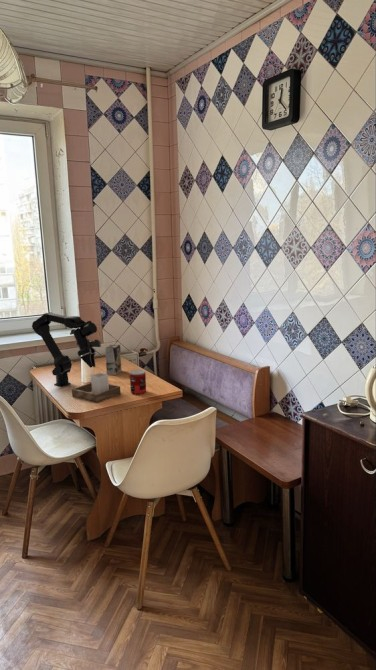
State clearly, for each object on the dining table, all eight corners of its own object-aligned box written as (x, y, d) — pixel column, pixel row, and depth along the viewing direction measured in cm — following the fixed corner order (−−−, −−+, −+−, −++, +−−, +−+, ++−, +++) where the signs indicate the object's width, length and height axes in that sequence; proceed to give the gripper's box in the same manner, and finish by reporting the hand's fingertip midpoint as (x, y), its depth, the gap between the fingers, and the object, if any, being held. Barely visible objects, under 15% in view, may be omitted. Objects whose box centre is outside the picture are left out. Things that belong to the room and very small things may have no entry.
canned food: (130, 390, 247) (129, 370, 245) (146, 389, 248) (145, 369, 245) (130, 395, 240) (129, 374, 237) (146, 394, 240) (145, 373, 238)
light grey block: (92, 394, 240) (90, 375, 238) (101, 391, 244) (100, 372, 242) (99, 396, 236) (98, 377, 234) (109, 393, 240) (107, 374, 238)
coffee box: (116, 375, 276) (115, 348, 273) (106, 374, 277) (104, 347, 274) (122, 370, 285) (120, 344, 281) (111, 370, 286) (110, 344, 283)
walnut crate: (72, 396, 239) (71, 389, 239) (95, 388, 252) (95, 381, 251) (97, 403, 229) (96, 395, 228) (120, 394, 242) (120, 386, 241)
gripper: (92, 332, 238) (104, 361, 238) (98, 334, 257) (110, 360, 256) (72, 341, 238) (84, 370, 237) (79, 342, 256) (90, 368, 256)
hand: (93, 367), depth 247 cm, fingers open, 9 cm apart
